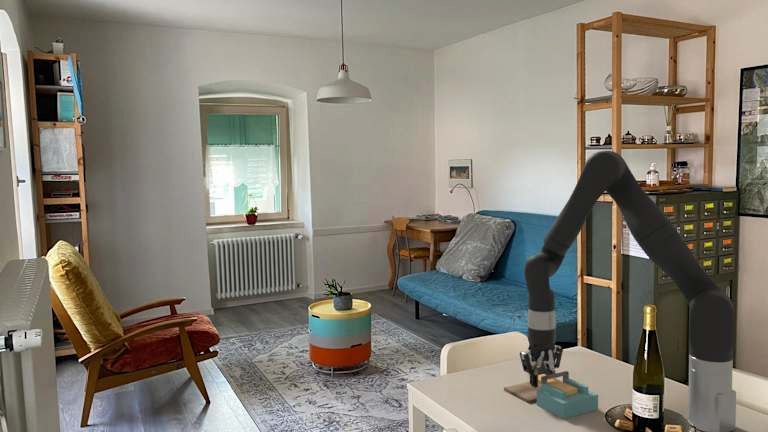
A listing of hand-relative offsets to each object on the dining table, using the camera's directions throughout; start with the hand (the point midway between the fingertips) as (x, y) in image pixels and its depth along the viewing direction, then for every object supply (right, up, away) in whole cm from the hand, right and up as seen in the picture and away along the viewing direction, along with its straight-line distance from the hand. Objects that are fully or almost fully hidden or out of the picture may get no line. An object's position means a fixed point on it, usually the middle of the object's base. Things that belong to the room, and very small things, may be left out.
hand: (541, 384), depth 165 cm
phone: (+5, -2, +22) cm, 23 cm away
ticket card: (+2, +1, -5) cm, 5 cm away
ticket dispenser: (+4, -4, -9) cm, 10 cm away
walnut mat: (-1, -3, +3) cm, 4 cm away
